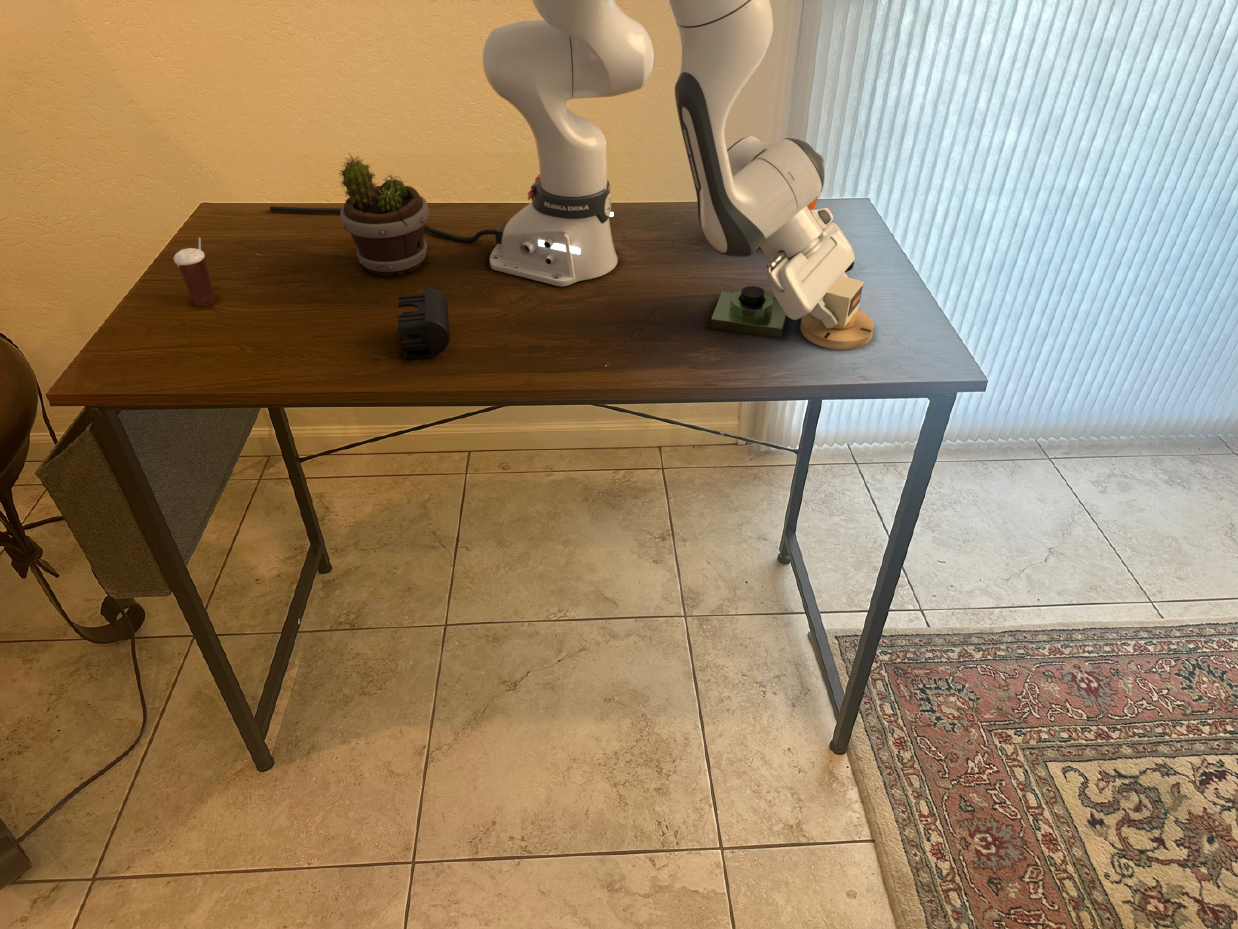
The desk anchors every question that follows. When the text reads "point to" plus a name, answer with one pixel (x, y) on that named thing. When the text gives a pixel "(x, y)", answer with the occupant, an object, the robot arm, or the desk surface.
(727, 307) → the base
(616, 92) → the robot arm
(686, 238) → the desk surface
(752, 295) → the button
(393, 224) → the flowerpot
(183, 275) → the milkshake
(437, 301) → the end cap
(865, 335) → the stand
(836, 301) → the tan cube with screen
